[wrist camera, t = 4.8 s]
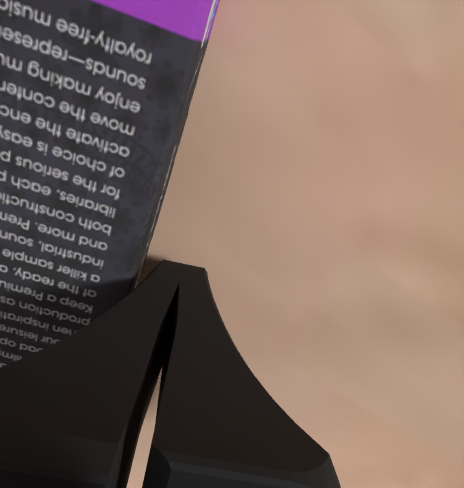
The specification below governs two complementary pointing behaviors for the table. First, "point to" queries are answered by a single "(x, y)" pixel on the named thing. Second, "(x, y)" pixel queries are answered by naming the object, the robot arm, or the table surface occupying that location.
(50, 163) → the box
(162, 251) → the table surface
